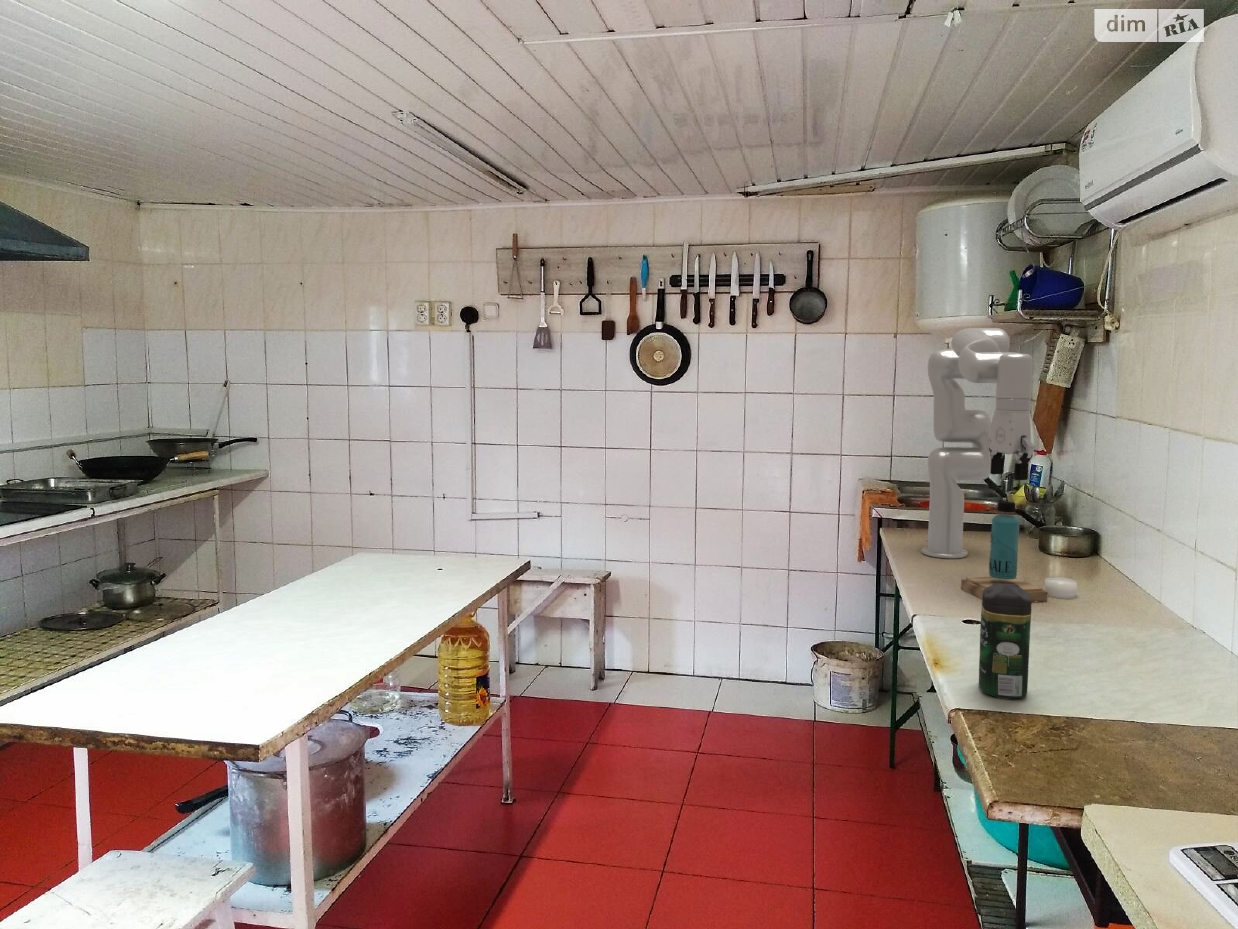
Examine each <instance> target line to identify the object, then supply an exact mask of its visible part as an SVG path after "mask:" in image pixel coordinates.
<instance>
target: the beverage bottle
mask: <svg viewBox="0 0 1238 929" xmlns="http://www.w3.org/2000/svg"><path fill="white" fill-rule="evenodd" d="M1016 510H1017V509H1016V503H1015V502H1013V501H998V503H997V507H996V511H998V512H1005V513H1013V512H1016ZM1020 523H1021V521H1020V520H1019V518H1018V517H1017V516H1015V515H1011V514H1003V513H1002V514H996V515H995V516H993V517H992V519H991V530H990V549H989V562H988V574H989V577H993V578H997V579H1006V580H1010V579H1015V578H1017V575H1018V556H1019V554H1018V550H1019V534H1020Z"/></svg>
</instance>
